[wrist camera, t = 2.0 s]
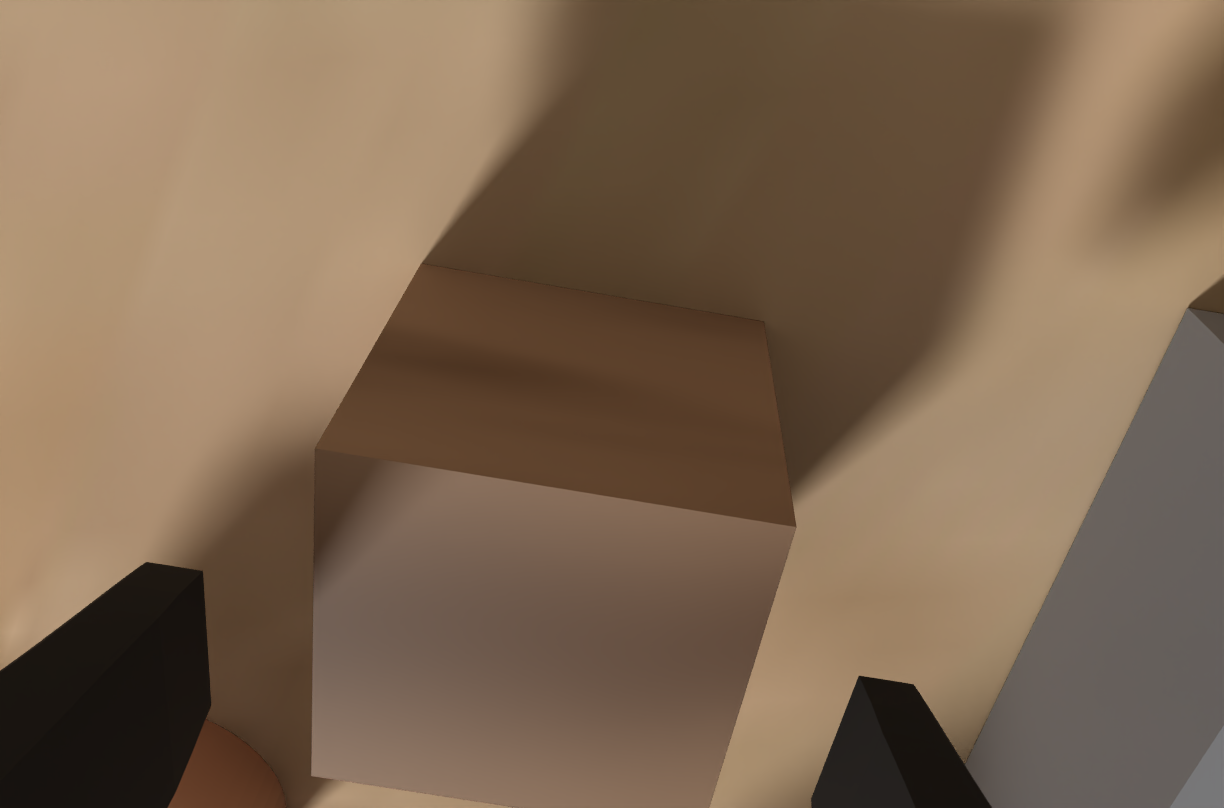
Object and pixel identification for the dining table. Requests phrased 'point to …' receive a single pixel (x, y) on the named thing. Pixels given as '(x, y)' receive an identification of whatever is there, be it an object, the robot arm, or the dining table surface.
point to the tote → (1131, 620)
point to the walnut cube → (545, 547)
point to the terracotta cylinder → (226, 775)
